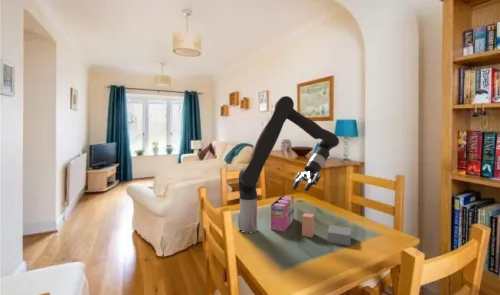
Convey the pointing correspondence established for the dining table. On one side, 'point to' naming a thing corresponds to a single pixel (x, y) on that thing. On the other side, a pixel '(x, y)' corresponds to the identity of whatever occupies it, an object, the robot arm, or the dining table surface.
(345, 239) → the grey base block
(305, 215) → the terracotta block
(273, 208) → the gum box
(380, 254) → the dining table surface
